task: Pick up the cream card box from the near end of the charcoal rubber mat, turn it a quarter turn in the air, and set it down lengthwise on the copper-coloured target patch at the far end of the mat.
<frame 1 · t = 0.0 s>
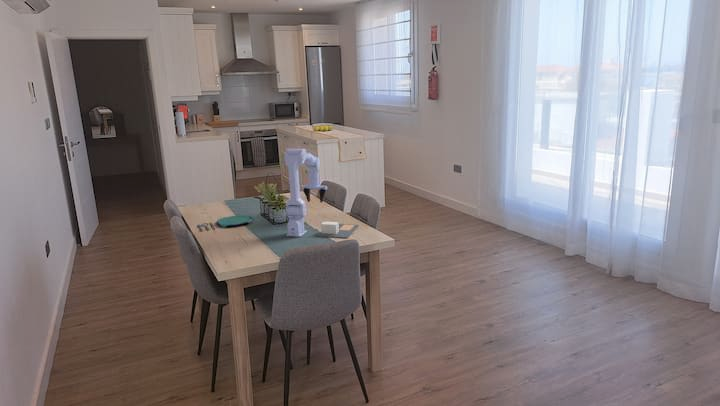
hand: (315, 201, 281), 10 cm above the table, tool pointing down, fingers open, 7 cm apart
mat: (338, 231, 260), on the table
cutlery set: (225, 225, 278), on the table
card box: (330, 232, 256), point 1 cm above the table, touching mat
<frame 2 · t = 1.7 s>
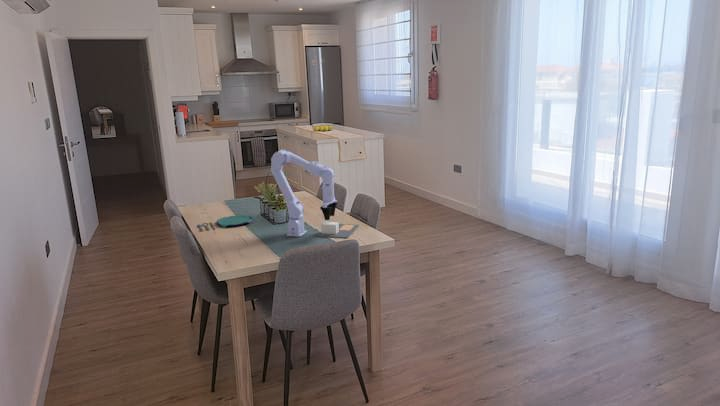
hand: (329, 217, 254), 8 cm above the table, tool pointing down, fingers open, 7 cm apart
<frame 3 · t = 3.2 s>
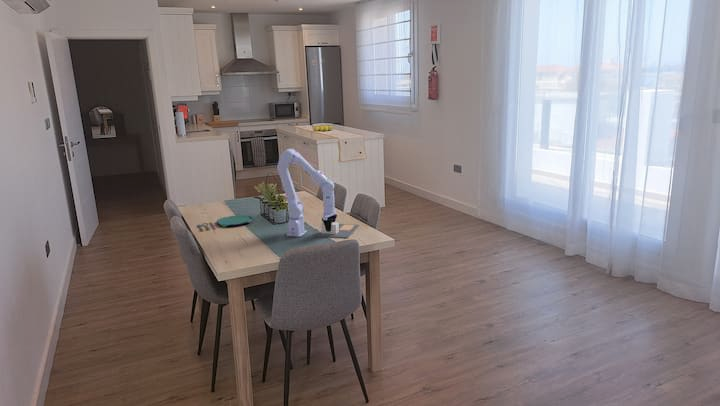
hand: (330, 229, 255), 2 cm above the table, tool pointing down, fingers closed on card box, 4 cm apart
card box: (330, 232, 256), point 1 cm above the table, touching gripper, mat
everything else where it was.
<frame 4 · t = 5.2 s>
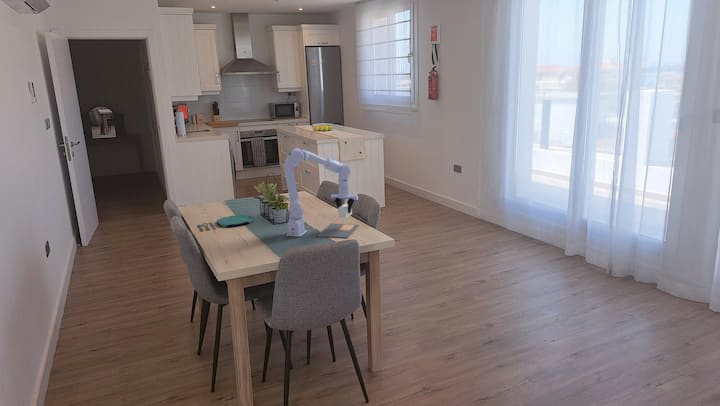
hand: (345, 212, 261), 9 cm above the table, tool pointing down, fingers closed on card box, 4 cm apart
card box: (345, 215, 261), point 7 cm above the table, touching gripper
everything else where it was.
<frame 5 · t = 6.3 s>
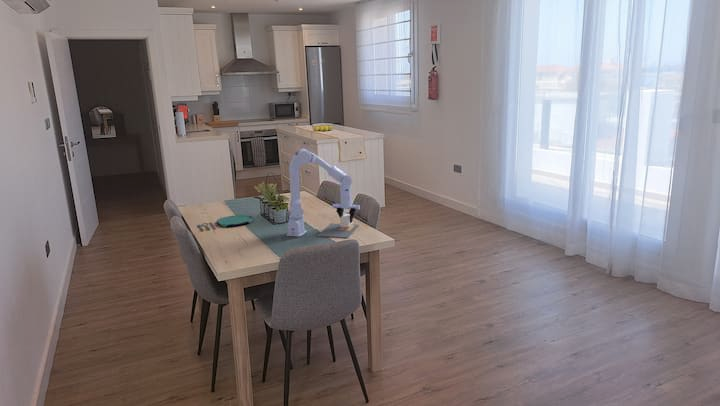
hand: (346, 221, 263), 4 cm above the table, tool pointing down, fingers closed on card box, 4 cm apart
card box: (346, 224, 263), point 2 cm above the table, touching gripper
everything else where it was.
when the fingers open (3 cm above the table, at t = 7.2 s): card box drops 1 cm, resting on mat.
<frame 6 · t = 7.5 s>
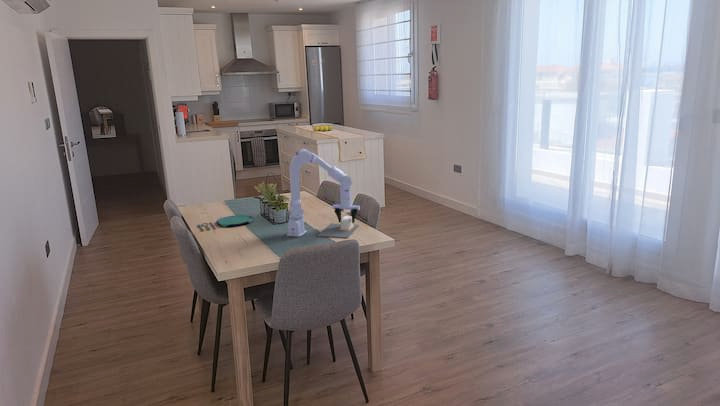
hand: (346, 222, 263), 3 cm above the table, tool pointing down, fingers open, 7 cm apart
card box: (347, 227, 264), point 1 cm above the table, touching mat
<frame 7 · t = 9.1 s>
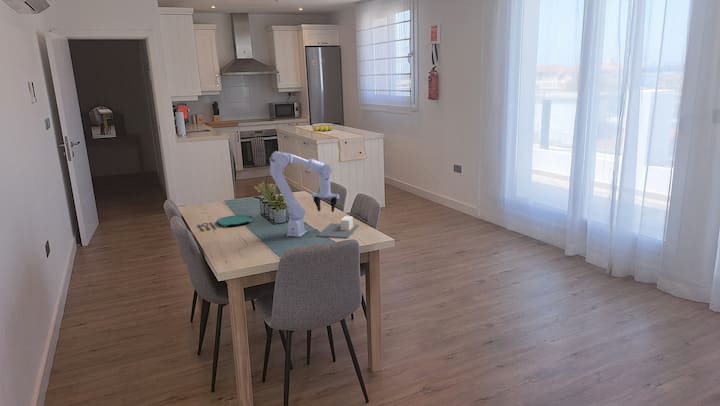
hand: (326, 211, 263), 9 cm above the table, tool pointing down, fingers open, 7 cm apart
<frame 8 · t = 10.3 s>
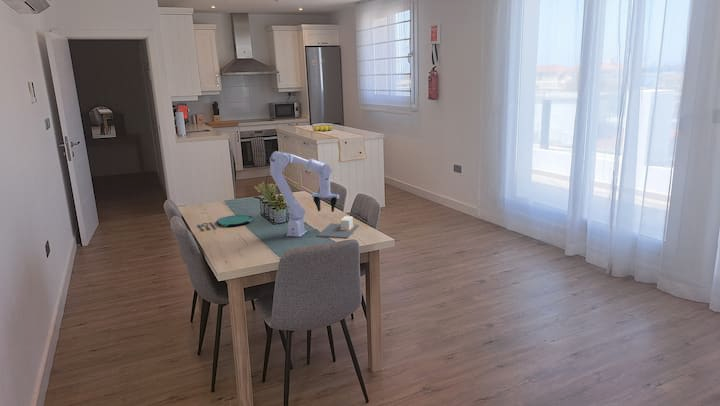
hand: (326, 211, 263), 9 cm above the table, tool pointing down, fingers open, 7 cm apart
at the end: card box 0.1 cm from the target spot on the mat, point 0.6 cm above the mat's base; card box tilted 0°; the gripper is holding nothing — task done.
